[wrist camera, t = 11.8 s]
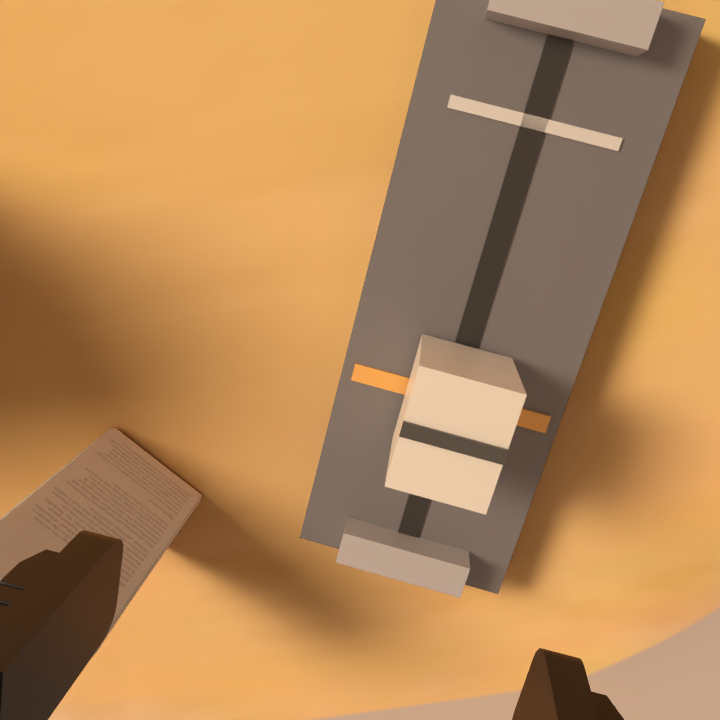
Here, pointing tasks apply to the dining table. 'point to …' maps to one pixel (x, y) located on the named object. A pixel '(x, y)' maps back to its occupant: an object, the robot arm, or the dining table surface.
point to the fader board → (495, 255)
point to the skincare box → (103, 510)
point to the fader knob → (455, 424)
